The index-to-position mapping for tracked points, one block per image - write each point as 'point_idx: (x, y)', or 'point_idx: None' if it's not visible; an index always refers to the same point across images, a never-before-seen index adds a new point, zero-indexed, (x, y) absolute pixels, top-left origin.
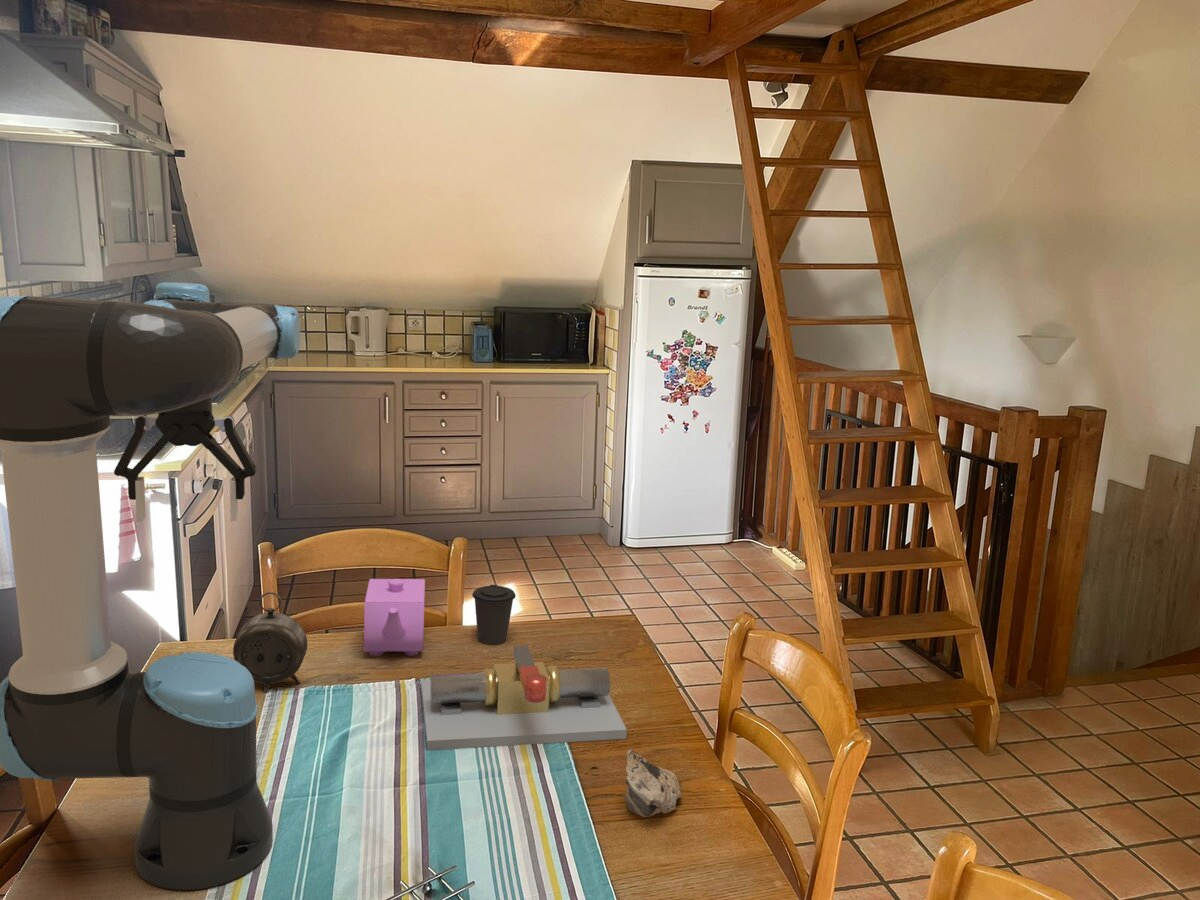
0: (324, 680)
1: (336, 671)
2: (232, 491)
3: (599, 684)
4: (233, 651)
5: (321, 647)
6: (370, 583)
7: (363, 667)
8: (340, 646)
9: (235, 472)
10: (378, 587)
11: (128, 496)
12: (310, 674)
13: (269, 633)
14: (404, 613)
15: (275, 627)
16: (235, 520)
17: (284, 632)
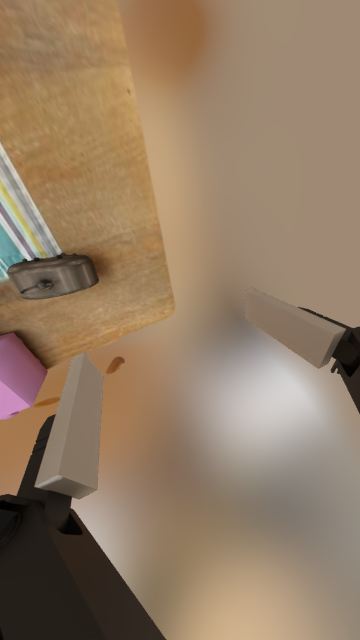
0: None
1: (26, 303)
2: (61, 428)
3: None
4: (89, 258)
5: (71, 336)
6: (20, 400)
7: (5, 316)
8: (56, 342)
9: (15, 555)
10: (2, 397)
11: (307, 309)
12: None
13: (36, 262)
14: None
15: (27, 267)
16: (73, 357)
17: (17, 267)
